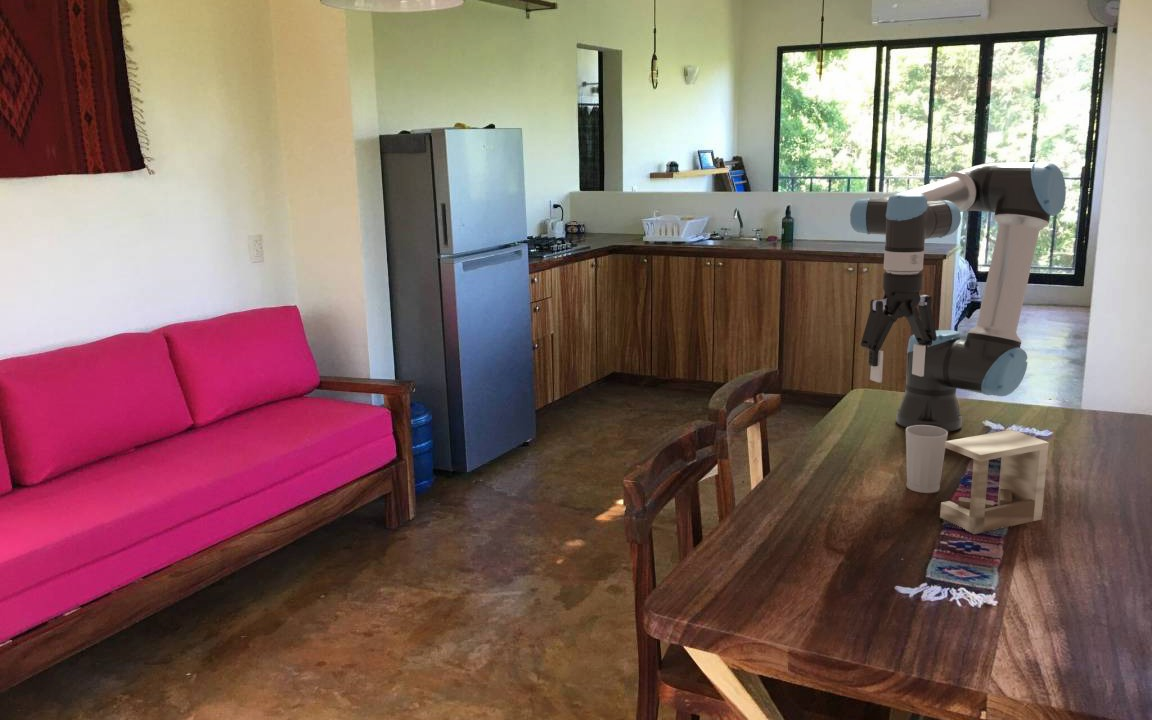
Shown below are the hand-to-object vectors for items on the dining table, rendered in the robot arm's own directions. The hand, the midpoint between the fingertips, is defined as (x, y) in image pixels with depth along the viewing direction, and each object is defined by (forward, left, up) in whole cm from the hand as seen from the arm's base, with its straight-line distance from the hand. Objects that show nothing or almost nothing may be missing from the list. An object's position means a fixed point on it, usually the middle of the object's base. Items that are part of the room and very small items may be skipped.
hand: (897, 378), depth 194 cm
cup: (+9, 0, -21) cm, 23 cm away
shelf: (+27, 0, -21) cm, 34 cm away
